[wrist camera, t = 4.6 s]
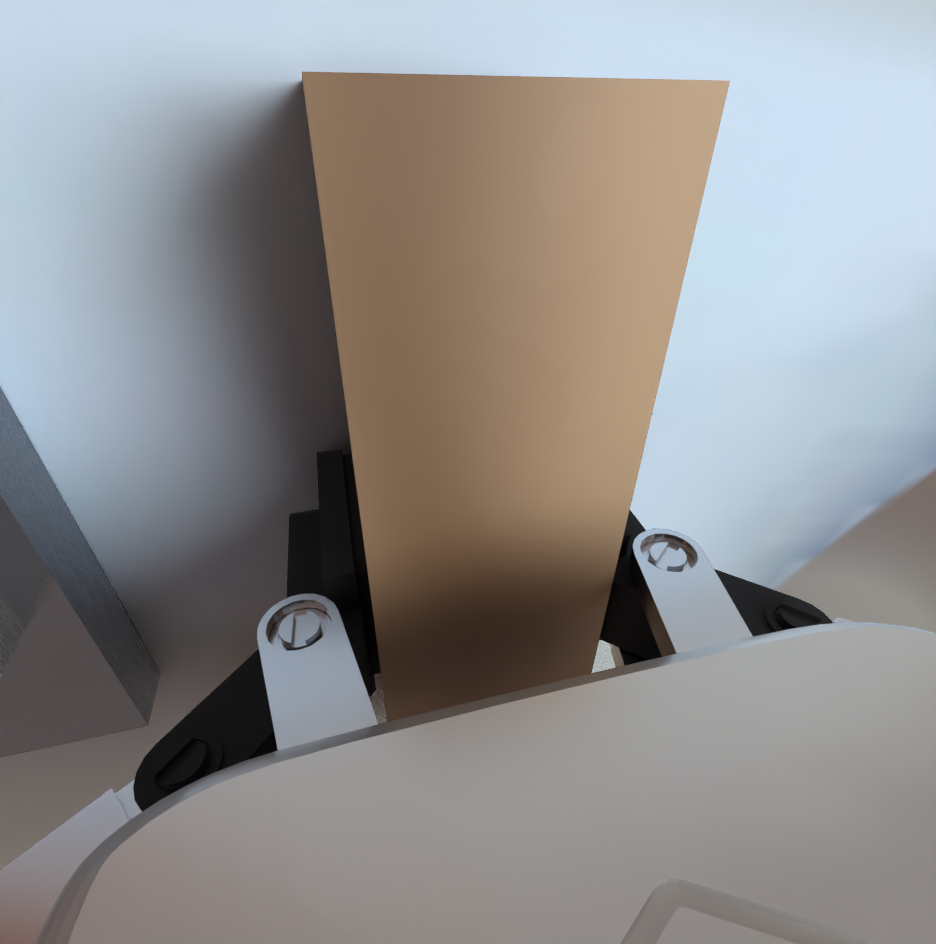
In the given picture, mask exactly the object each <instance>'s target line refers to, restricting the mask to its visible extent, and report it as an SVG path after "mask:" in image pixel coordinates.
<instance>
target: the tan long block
mask: <svg viewBox="0 0 936 944" xmlns="http://www.w3.org/2000/svg"><path fill="white" fill-rule="evenodd" d="M302 82H303V90H304V97H305V105H306V112H307V120H308V127H309V135H310V142H311V150H312V158H313V165H314V173H315V180H316V188H317V195H318V203H319V210H320V218H321V226H322V233H323V241H324V248H325V256H326V263H327V271H328V278H329V286H330V294H331V301H332V309H333V316H334V324H335V331H336V339H337V347H338V354H339V362H340V369H341V377H342V384H343V392H344V399H345V407H346V415H347V422H348V430H349V437H350V445H351V452H352V460H353V467H354V475H355V482H356V489H357V497H358V504H359V512H360V519H361V526H362V534H363V541H364V549H365V556H366V563H367V571H368V578H369V586H370V593H371V601H372V609H373V616H374V624H375V631H376V639H377V646H378V654H379V662H380V669H381V679H382V687H383V694H384V702H385V709H386V717H387V722H390V721H394V720H398V719H402V718H407V717H411V716H415V715H419V714H423V713H427V712H431V711H436V710H440V709H444V708H448V707H452V706H456V705H460V704H465V703H469V702H473V701H477V700H481V699H485V698H489V697H494V696H498V695H502V694H506V693H511V692H515V691H519V690H523V689H527V688H532V687H536V686H540V685H544V684H549V683H553V682H557V681H561V680H566V679H570V678H574V677H578V676H583V675H587V674H591V672H592V668H593V664H594V659H595V655H596V651H597V646H598V642H599V638H600V634H601V629H602V625H603V621H604V617H605V612H606V608H607V604H608V599H609V595H610V591H611V587H612V582H613V578H614V574H615V570H616V565H617V561H618V557H619V552H620V548H621V544H622V540H623V535H624V531H625V527H626V523H627V518H628V514H629V510H630V505H631V501H632V497H633V493H634V488H635V484H636V480H637V476H638V471H639V467H640V463H641V458H642V454H643V450H644V446H645V441H646V437H647V433H648V429H649V424H650V420H651V416H652V411H653V407H654V403H655V399H656V394H657V390H658V386H659V382H660V377H661V373H662V369H663V364H664V360H665V356H666V352H667V347H668V343H669V339H670V335H671V330H672V326H673V322H674V317H675V313H676V309H677V305H678V300H679V296H680V292H681V288H682V283H683V279H684V275H685V270H686V266H687V262H688V258H689V253H690V249H691V245H692V241H693V236H694V232H695V228H696V223H697V219H698V215H699V211H700V206H701V202H702V198H703V194H704V189H705V185H706V181H707V176H708V172H709V168H710V164H711V159H712V155H713V151H714V147H715V142H716V138H717V134H718V129H719V125H720V121H721V117H722V112H723V108H724V104H725V100H726V95H727V91H728V87H729V82H730V81H712V80H665V79H618V78H571V77H523V76H476V75H429V74H381V73H334V72H302Z"/></svg>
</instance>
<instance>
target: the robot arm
mask: <svg viewBox="0 0 936 944" xmlns="http://www.w3.org/2000/svg"><path fill="white" fill-rule="evenodd" d="M317 466H318V490H319V509H317V510H311V511H305V512H298V513H292V514H290V517H289V545H288V579H287V598H286V599H284V600H282V601H280V602H278V603H277V604H275V605H274V606H273V607H271V608H270V609H269V610H268V611H267V612H266V614H265V615H264V616H263V617H262V618H261V621H260V623H259V626H258V628H257V641H258V647H259V649H258V650H257V651H256V652H255V653H254V654H253V655H252V656H251V657H249V658H248V659H247V660H246V661H245V662H244V663H243V664H242V665H241V666H240V667H239V668H238V669H237V670H235V671H234V672H233V673H232V674H231V675H230V676H229V677H228V678H227V679H226V680H225V681H224V682H223V683H221V684H220V685H219V686H218V687H217V688H216V689H215V690H214V691H213V692H212V693H211V694H210V695H209V696H207V697H206V698H205V699H204V700H203V701H202V702H201V703H200V704H199V705H198V706H197V707H196V708H195V709H193V710H192V711H191V712H190V713H189V714H188V715H187V716H186V717H185V718H184V719H183V720H182V721H181V722H179V723H178V724H177V725H176V726H175V727H174V728H173V729H172V730H171V731H170V732H169V733H168V734H167V735H165V736H164V737H163V738H162V739H161V740H160V741H159V742H158V743H157V744H156V745H155V746H154V747H153V748H152V749H151V751H150V752H149V753H148V754H147V755H146V756H145V758H144V760H143V761H142V763H141V765H140V767H139V769H138V770H137V773H136V777H135V779H134V780H133V781H131V782H130V783H129V784H127V785H126V786H125V787H123V788H122V789H121V790H119V791H118V792H117V793H115V792H114V791H113V789H112V788H111V789H110V790H108V791H107V792H105V793H104V794H103V795H101V796H100V797H99V798H97V799H96V800H95V801H93V802H92V803H90V804H89V805H88V806H86V807H85V808H84V809H82V810H81V811H80V812H78V813H77V814H75V815H74V816H73V817H71V818H70V819H69V820H67V821H66V822H65V823H63V824H62V825H60V826H59V827H58V828H56V829H55V830H54V831H52V832H51V833H50V834H48V835H47V836H45V837H44V838H43V839H41V840H40V841H39V842H37V843H36V844H35V845H33V846H32V847H31V848H29V849H28V850H26V851H25V852H24V853H22V854H21V855H20V856H18V857H17V858H16V859H14V860H13V861H11V862H10V863H9V864H7V865H6V866H5V867H3V868H2V869H1V870H0V944H936V633H933V632H929V631H925V630H922V629H917V628H912V627H907V626H901V625H892V624H884V623H868V622H867V623H866V622H862V623H861V622H857V621H853V620H848V619H844V618H840V617H837V618H836V619H835V621H834V622H832V621H831V620H830V619H829V618H828V617H827V616H826V615H825V614H824V613H823V612H821V611H820V610H819V609H817V608H816V607H814V606H813V605H811V604H809V603H807V602H805V601H802V600H800V599H798V598H795V597H792V596H789V595H786V594H783V593H781V592H778V591H775V590H772V589H769V588H766V587H764V586H761V585H758V584H755V583H752V582H749V581H746V580H744V579H741V578H738V577H735V576H732V575H729V574H727V573H724V572H721V571H718V570H715V569H714V568H713V566H712V565H711V563H710V561H709V560H708V558H707V556H706V554H705V553H704V551H703V550H702V548H701V547H700V546H699V545H698V543H696V542H695V541H694V540H692V539H691V538H690V537H688V536H686V535H684V534H682V533H679V532H676V531H672V530H668V529H652V530H647V531H646V530H645V529H644V527H643V526H642V525H641V524H640V522H639V521H638V520H637V518H636V517H635V516H634V515H633V513H632V512H631V511H630V510H629V514H628V518H627V523H626V527H625V531H624V535H623V540H622V544H621V548H620V552H619V557H618V561H617V565H616V570H615V574H614V578H613V582H612V587H611V591H610V595H609V599H608V604H607V608H606V612H605V617H604V621H603V625H602V629H601V634H600V638H599V640H603V641H605V642H607V643H610V646H611V653H612V656H613V659H614V662H615V666H616V668H612V669H608V670H604V671H600V672H595V673H591V674H587V675H583V676H578V677H574V678H570V679H566V680H561V681H557V682H553V683H549V684H544V685H540V686H536V687H532V688H527V689H523V690H519V691H515V692H511V693H506V694H502V695H498V696H494V697H489V698H485V699H481V700H477V701H473V702H469V703H465V704H460V705H456V706H452V707H448V708H444V709H440V710H436V711H431V712H427V713H423V714H419V715H415V716H411V717H407V718H402V719H398V720H394V721H390V722H386V723H382V724H378V721H377V719H376V716H375V713H374V710H373V707H372V704H371V702H370V699H369V697H370V696H371V695H372V693H373V692H374V691H375V690H376V687H375V679H374V674H377V673H381V669H380V662H379V654H378V646H377V639H376V631H375V624H374V616H373V609H372V601H371V593H370V586H369V578H368V571H367V563H366V556H365V549H364V541H363V534H362V526H361V519H360V512H359V504H358V497H357V489H356V482H355V475H354V467H353V460H352V454H349V455H342V450H341V449H339V450H332V451H324V452H317Z"/></svg>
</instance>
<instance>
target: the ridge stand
mask: <svg viewBox="0 0 936 944" xmlns="http://www.w3.org/2000/svg"><path fill="white" fill-rule="evenodd" d="M159 678H160V672H159V671H158V669H157V667H156V665H155V663H154V662H153V660H152V658H151V656H150V654H149V653H148V651H147V649H146V647H145V646H144V644H143V642H142V640H141V638H140V637H139V635H138V633H137V631H136V629H135V628H134V626H133V624H132V622H131V620H130V619H129V617H128V615H127V613H126V612H125V610H124V608H123V606H122V604H121V603H120V601H119V599H118V597H117V595H116V594H115V592H114V590H113V588H112V586H111V585H110V583H109V581H108V579H107V578H106V576H105V574H104V572H103V570H102V569H101V567H100V565H99V563H98V561H97V560H96V558H95V556H94V554H93V552H92V551H91V549H90V547H89V545H88V543H87V542H86V540H85V538H84V536H83V535H82V533H81V531H80V529H79V527H78V526H77V524H76V522H75V520H74V518H73V517H72V515H71V513H70V511H69V509H68V508H67V506H66V504H65V502H64V501H63V499H62V497H61V495H60V493H59V492H58V490H57V488H56V486H55V484H54V483H53V481H52V479H51V477H50V475H49V474H48V472H47V470H46V468H45V467H44V465H43V463H42V461H41V459H40V458H39V456H38V454H37V452H36V450H35V449H34V447H33V445H32V443H31V441H30V440H29V438H28V436H27V434H26V432H25V431H24V429H23V427H22V425H21V424H20V422H19V420H18V418H17V416H16V415H15V413H14V411H13V409H12V407H11V406H10V404H9V402H8V400H7V398H6V397H5V395H4V393H3V391H2V390H1V388H0V757H5V756H9V755H14V754H19V753H23V752H28V751H32V750H37V749H42V748H46V747H51V746H56V745H60V744H65V743H69V742H74V741H79V740H83V739H88V738H92V737H97V736H102V735H106V734H111V733H115V732H120V731H125V730H129V729H134V728H139V727H143V726H148V723H149V718H150V714H151V710H152V706H153V702H154V698H155V694H156V690H157V686H158V682H159Z"/></svg>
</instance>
